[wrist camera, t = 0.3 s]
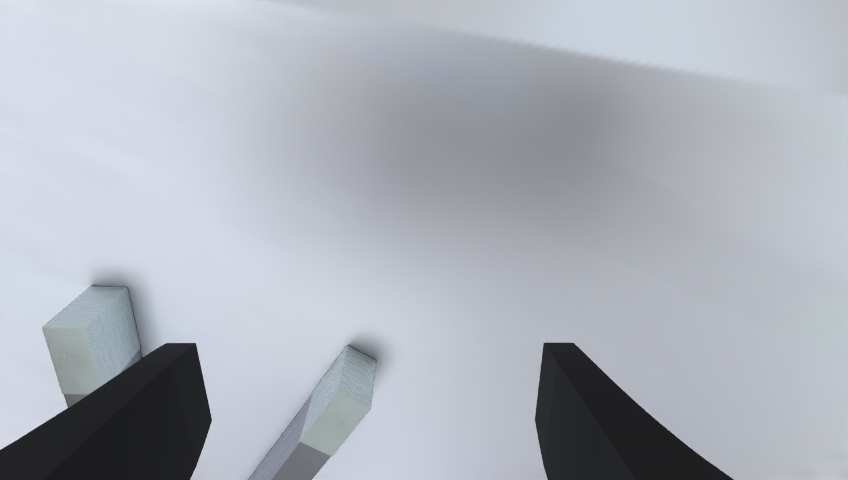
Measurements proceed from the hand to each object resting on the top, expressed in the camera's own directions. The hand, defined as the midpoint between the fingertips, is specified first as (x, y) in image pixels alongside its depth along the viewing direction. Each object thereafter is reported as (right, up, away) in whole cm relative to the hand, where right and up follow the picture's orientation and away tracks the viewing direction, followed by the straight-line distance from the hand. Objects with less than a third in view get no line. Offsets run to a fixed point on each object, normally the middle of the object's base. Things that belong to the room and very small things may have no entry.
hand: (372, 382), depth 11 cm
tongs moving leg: (-12, -5, +13) cm, 19 cm away
